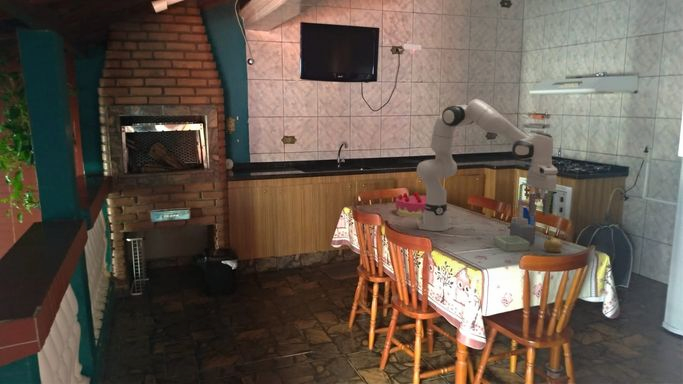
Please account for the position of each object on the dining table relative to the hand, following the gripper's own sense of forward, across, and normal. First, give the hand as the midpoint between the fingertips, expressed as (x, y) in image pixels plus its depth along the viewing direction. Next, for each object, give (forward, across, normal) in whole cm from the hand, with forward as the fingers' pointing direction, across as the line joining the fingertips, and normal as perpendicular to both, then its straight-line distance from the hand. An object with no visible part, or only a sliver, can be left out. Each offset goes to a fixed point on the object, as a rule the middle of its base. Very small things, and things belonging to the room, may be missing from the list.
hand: (539, 197), depth 239 cm
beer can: (+26, -24, +8) cm, 36 cm away
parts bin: (+26, -5, -10) cm, 28 cm away
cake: (+26, -88, -31) cm, 97 cm away
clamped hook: (+17, -11, 0) cm, 21 cm away
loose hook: (+9, 0, 0) cm, 9 cm away
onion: (+26, +4, +6) cm, 27 cm away
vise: (+26, -14, 0) cm, 29 cm away
